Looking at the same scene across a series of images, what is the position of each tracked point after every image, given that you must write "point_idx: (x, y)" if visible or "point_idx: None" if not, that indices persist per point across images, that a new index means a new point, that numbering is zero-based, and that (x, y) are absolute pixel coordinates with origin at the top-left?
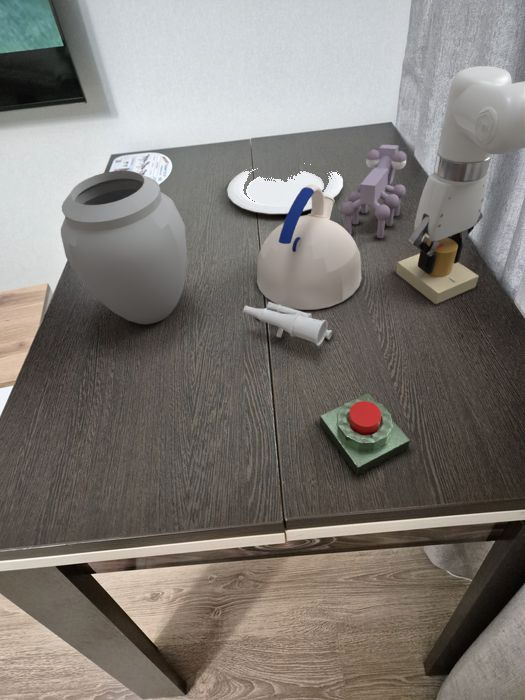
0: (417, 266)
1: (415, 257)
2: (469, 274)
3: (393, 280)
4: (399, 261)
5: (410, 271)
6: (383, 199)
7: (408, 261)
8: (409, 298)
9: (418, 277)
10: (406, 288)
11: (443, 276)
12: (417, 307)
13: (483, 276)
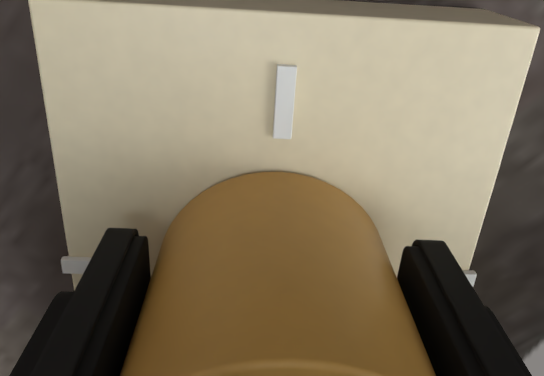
0: (159, 169)
1: (241, 48)
2: None
3: (8, 54)
4: (52, 2)
5: (61, 186)
6: None
7: (134, 61)
8: (13, 258)
9: (75, 272)
10: (49, 179)
11: None
12: (15, 328)
13: (516, 329)
